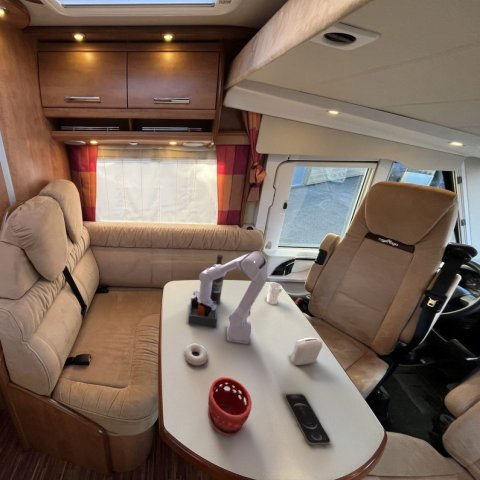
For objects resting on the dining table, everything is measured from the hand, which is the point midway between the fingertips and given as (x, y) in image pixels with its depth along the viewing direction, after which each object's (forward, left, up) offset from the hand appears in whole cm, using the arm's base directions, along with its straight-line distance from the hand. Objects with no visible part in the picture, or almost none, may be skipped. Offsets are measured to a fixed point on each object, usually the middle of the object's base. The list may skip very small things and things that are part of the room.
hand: (202, 312), depth 122 cm
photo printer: (-43, +18, -3) cm, 47 cm away
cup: (-39, -20, -3) cm, 44 cm away
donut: (+2, +25, -3) cm, 26 cm away
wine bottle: (-6, -13, -3) cm, 15 cm away
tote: (0, 0, -2) cm, 2 cm away
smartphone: (-36, +42, -2) cm, 55 cm away
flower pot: (-9, +47, -3) cm, 48 cm away
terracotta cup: (0, 0, -2) cm, 2 cm away
